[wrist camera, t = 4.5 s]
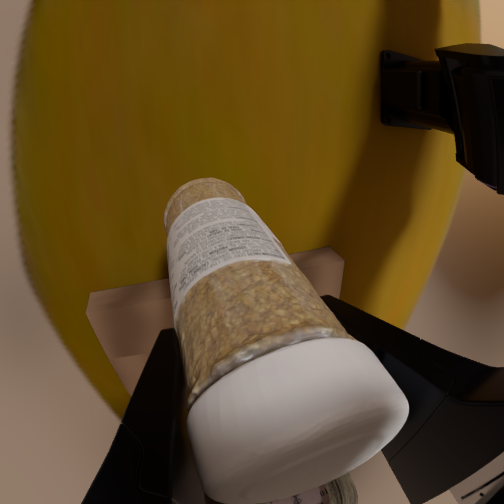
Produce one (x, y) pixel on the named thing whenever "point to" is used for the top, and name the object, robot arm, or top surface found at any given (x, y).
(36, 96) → the top surface
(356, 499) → the tabletop clock
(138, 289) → the wooden board
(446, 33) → the top surface
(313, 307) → the sprinkles bottle
